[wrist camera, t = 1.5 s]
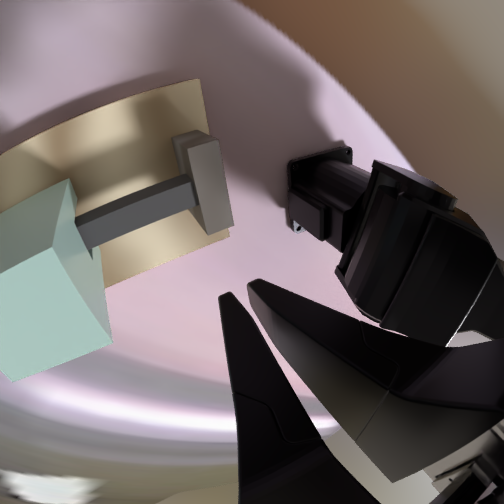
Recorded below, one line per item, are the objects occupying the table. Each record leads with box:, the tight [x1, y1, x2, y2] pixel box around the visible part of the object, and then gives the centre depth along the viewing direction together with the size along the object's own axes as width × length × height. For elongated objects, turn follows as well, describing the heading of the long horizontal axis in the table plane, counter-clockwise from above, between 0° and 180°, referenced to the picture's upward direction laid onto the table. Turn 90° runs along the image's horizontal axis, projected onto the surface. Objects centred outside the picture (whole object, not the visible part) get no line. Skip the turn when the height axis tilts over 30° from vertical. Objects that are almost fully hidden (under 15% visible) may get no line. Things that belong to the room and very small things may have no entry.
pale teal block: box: [0, 178, 113, 382], centre depth 11 cm, size 6×5×8 cm
